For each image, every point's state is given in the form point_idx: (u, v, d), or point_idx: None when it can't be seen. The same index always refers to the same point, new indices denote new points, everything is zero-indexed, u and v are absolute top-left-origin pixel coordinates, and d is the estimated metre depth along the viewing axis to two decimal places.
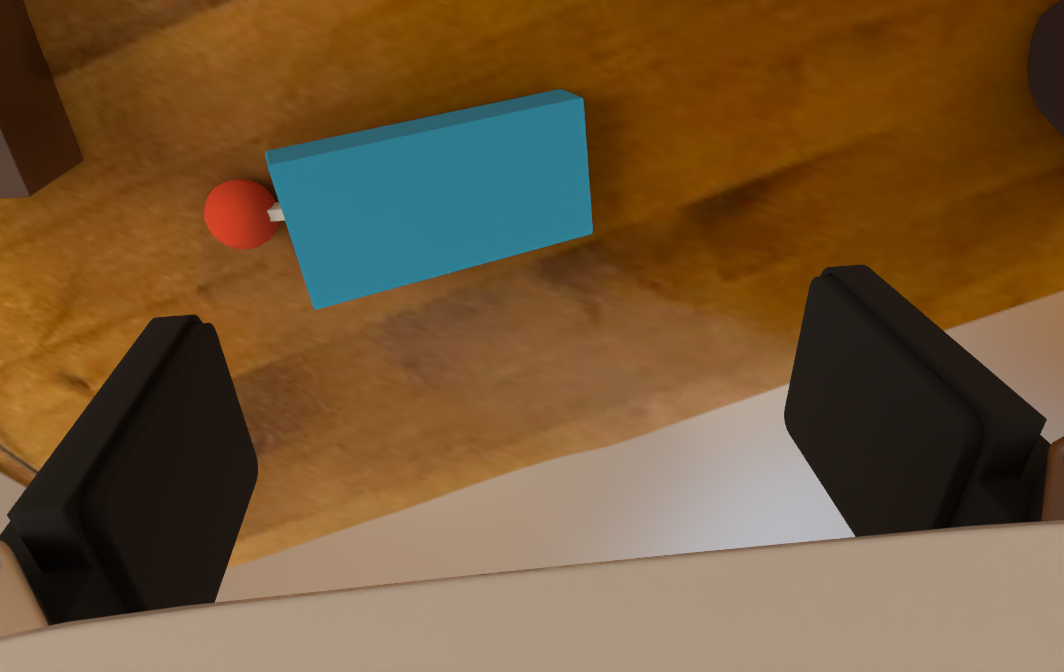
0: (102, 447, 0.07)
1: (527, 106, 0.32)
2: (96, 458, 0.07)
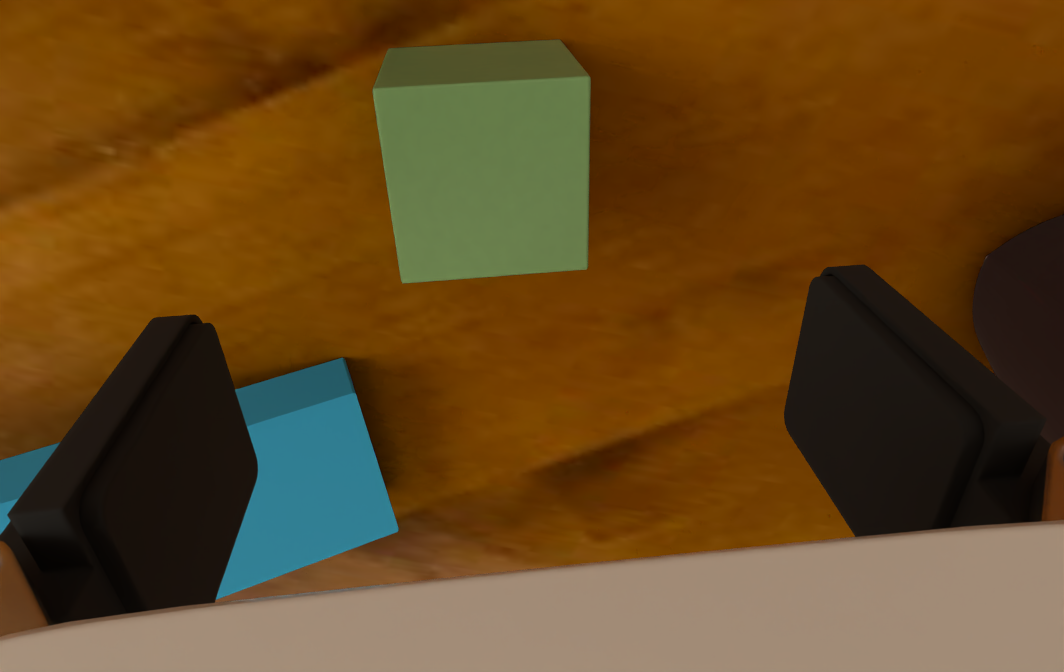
0: (102, 447, 0.07)
1: (275, 407, 0.23)
2: (96, 459, 0.07)
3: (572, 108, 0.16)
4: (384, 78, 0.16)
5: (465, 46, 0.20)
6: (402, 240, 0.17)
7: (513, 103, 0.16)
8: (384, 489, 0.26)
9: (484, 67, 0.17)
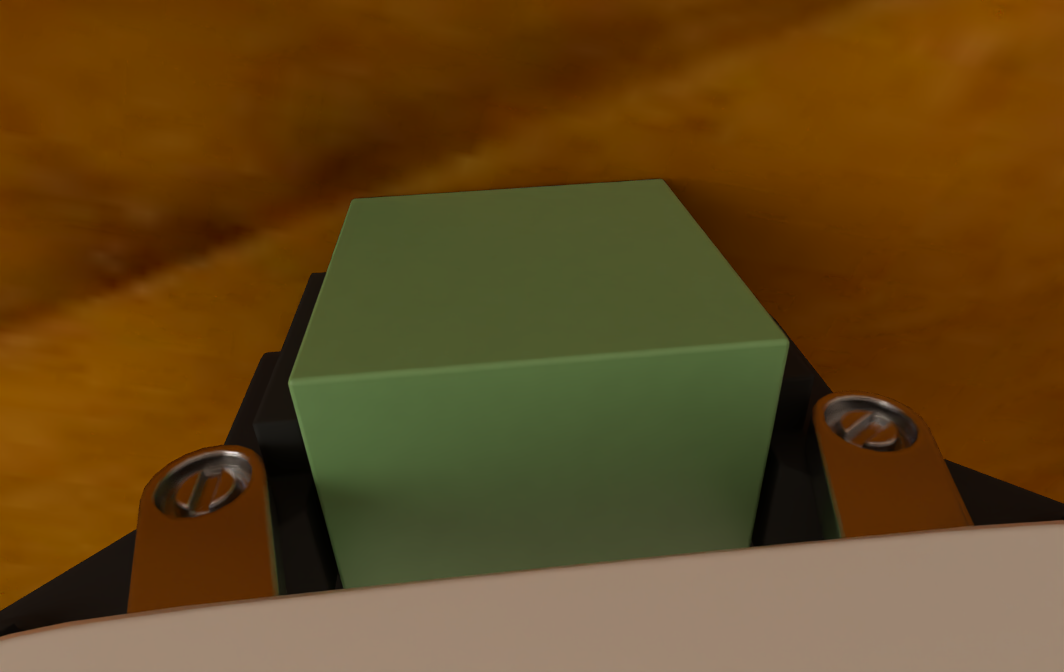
0: None
1: None
2: None
3: (742, 399, 0.07)
4: (324, 327, 0.07)
5: (492, 197, 0.11)
6: None
7: (612, 397, 0.07)
8: None
9: (539, 284, 0.08)
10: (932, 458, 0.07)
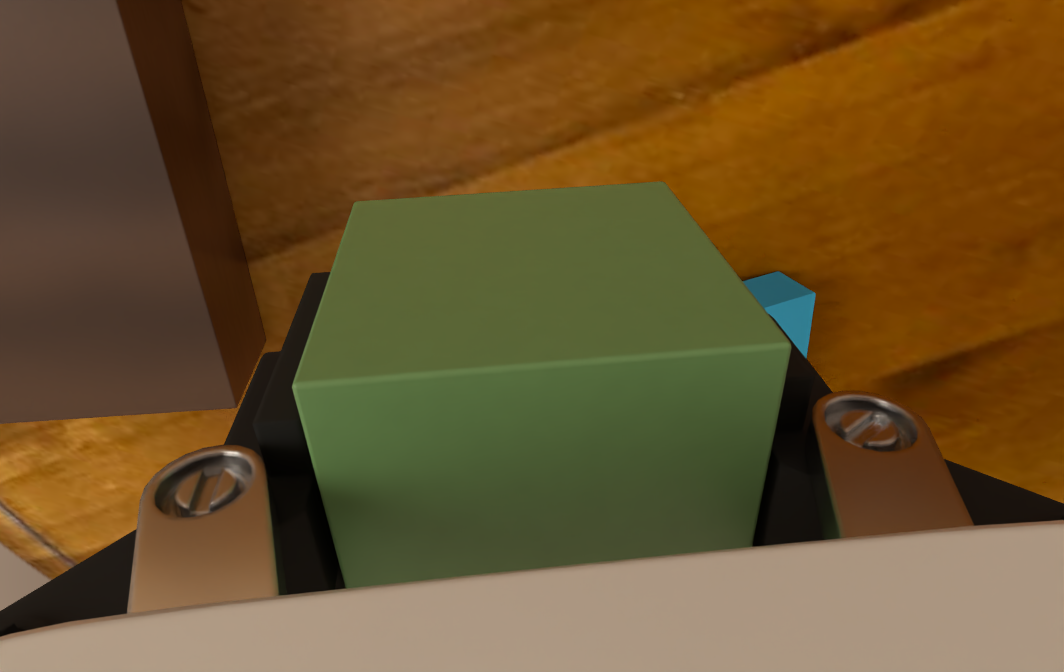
0: None
1: None
2: None
3: (745, 403, 0.07)
4: (327, 331, 0.07)
5: (494, 199, 0.11)
6: None
7: (615, 400, 0.07)
8: None
9: (542, 287, 0.08)
10: (932, 458, 0.07)
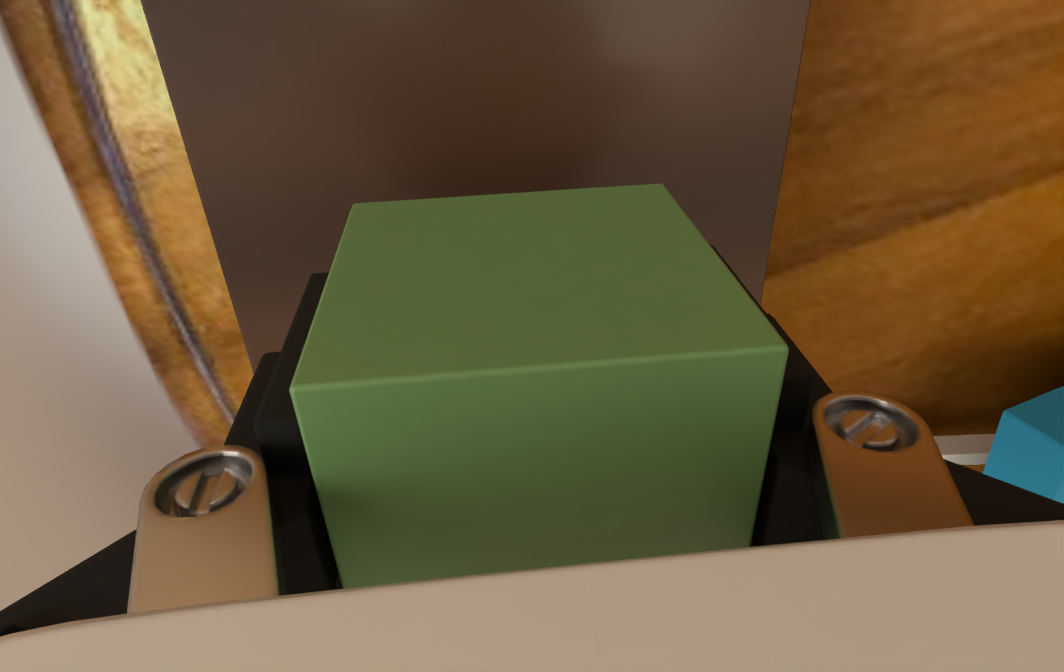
0: None
1: None
2: None
3: (742, 406, 0.07)
4: (325, 333, 0.07)
5: (493, 201, 0.11)
6: None
7: (611, 403, 0.07)
8: None
9: (539, 290, 0.08)
10: (932, 458, 0.07)
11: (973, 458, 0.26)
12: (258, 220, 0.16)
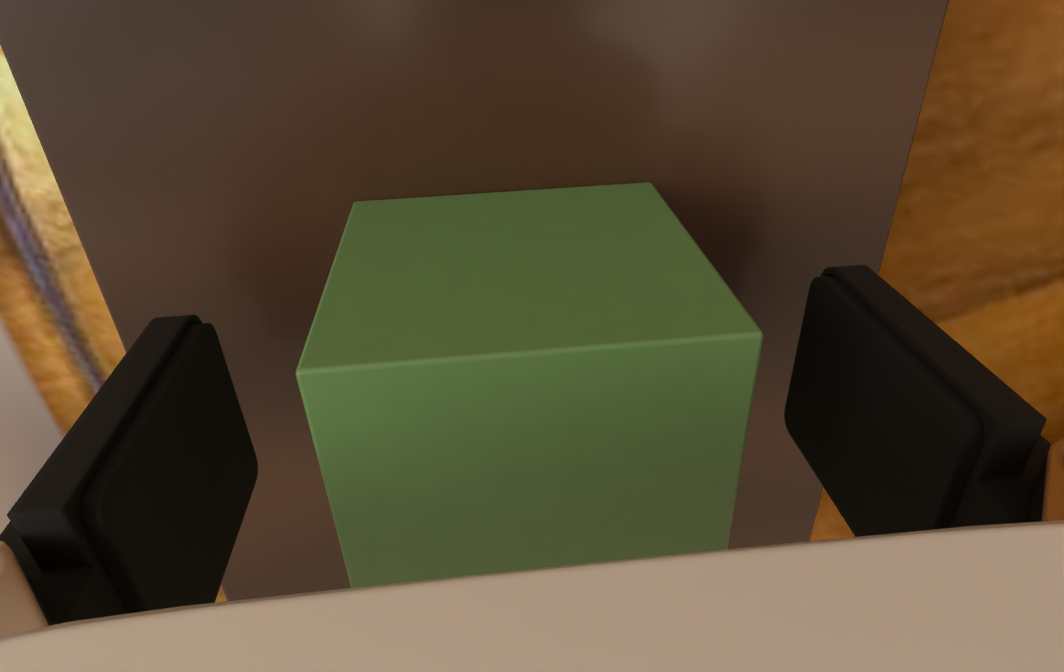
0: (102, 447, 0.07)
1: None
2: (96, 458, 0.07)
3: (720, 389, 0.08)
4: (328, 322, 0.08)
5: (488, 199, 0.11)
6: None
7: (597, 386, 0.08)
8: None
9: (531, 282, 0.09)
10: None
11: None
12: None
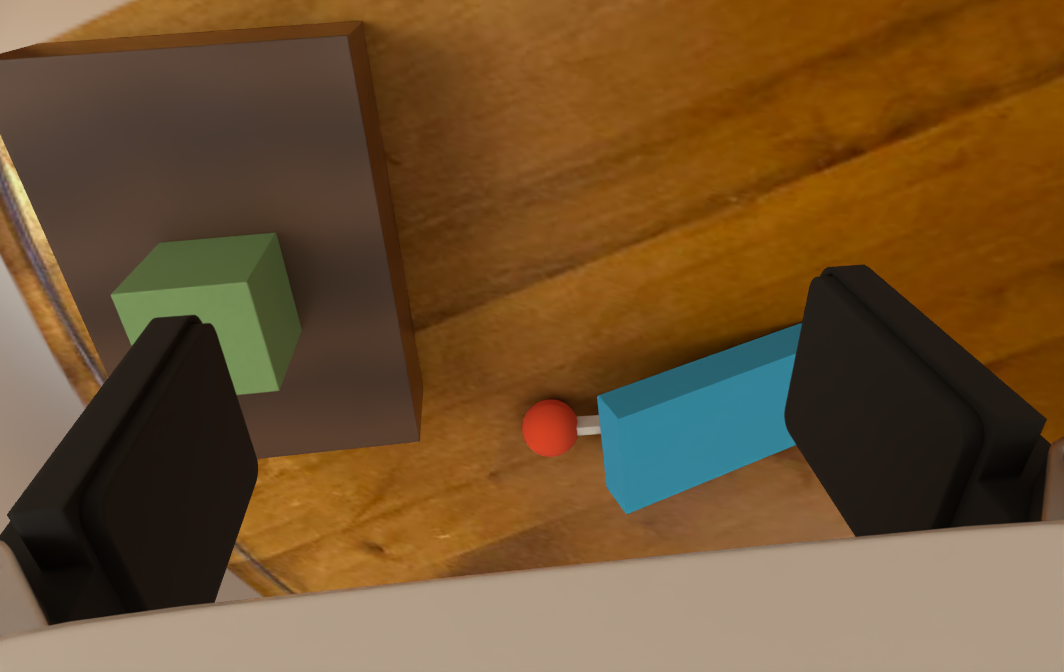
0: (102, 447, 0.07)
1: None
2: (96, 459, 0.07)
3: (241, 299, 0.26)
4: (126, 282, 0.26)
5: (208, 241, 0.29)
6: None
7: (201, 298, 0.26)
8: None
9: (196, 269, 0.27)
10: None
11: None
12: (101, 297, 0.31)
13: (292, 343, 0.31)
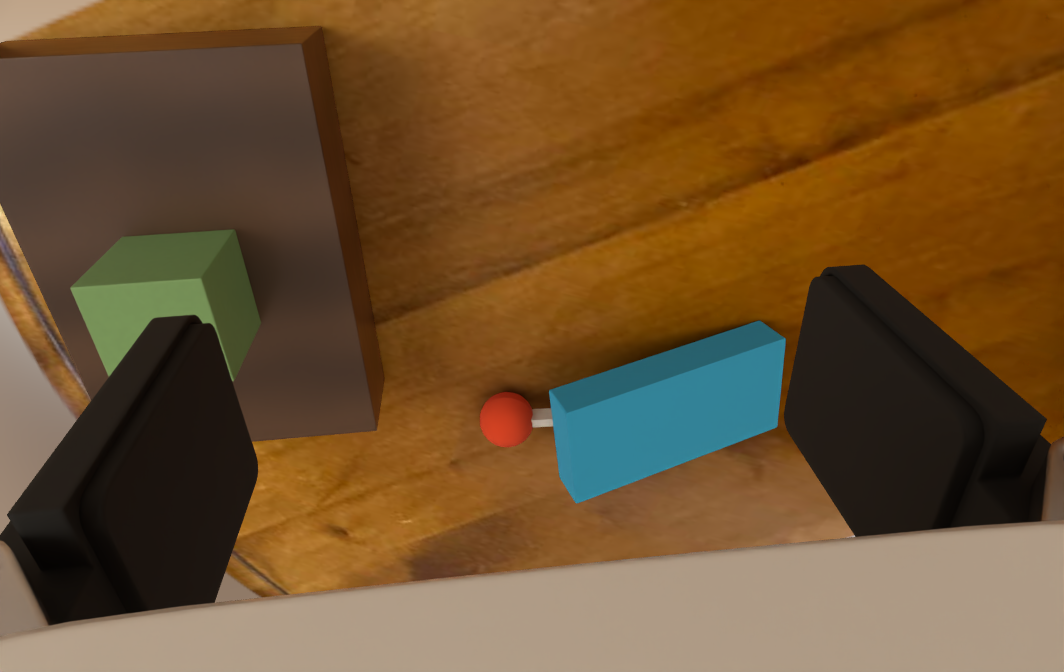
0: (102, 447, 0.07)
1: (743, 346, 0.41)
2: (96, 458, 0.07)
3: (195, 294, 0.27)
4: (86, 276, 0.28)
5: (169, 236, 0.31)
6: (108, 366, 0.29)
7: (157, 293, 0.27)
8: (779, 399, 0.43)
9: (153, 264, 0.28)
10: None
11: None
12: (66, 288, 0.32)
13: (250, 335, 0.32)
